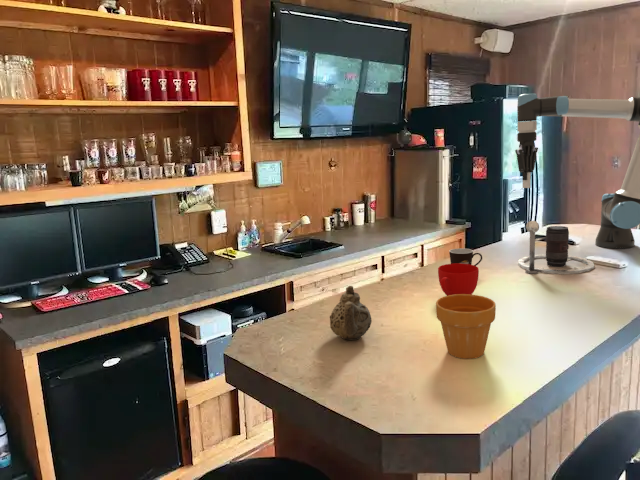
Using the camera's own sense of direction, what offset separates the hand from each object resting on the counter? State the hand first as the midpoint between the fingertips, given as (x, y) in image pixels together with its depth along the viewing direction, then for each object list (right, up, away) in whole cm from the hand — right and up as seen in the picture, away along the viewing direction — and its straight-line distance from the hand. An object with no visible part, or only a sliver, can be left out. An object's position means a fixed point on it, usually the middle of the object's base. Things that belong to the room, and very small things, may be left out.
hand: (526, 187), depth 226 cm
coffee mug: (-34, -37, -28) cm, 58 cm away
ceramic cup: (-44, -42, -53) cm, 81 cm away
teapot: (-80, -50, -81) cm, 124 cm away
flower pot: (-52, -51, -94) cm, 119 cm away
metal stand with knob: (-6, -34, -26) cm, 43 cm away
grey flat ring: (+4, -32, -19) cm, 38 cm away
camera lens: (+4, -33, -19) cm, 38 cm away
